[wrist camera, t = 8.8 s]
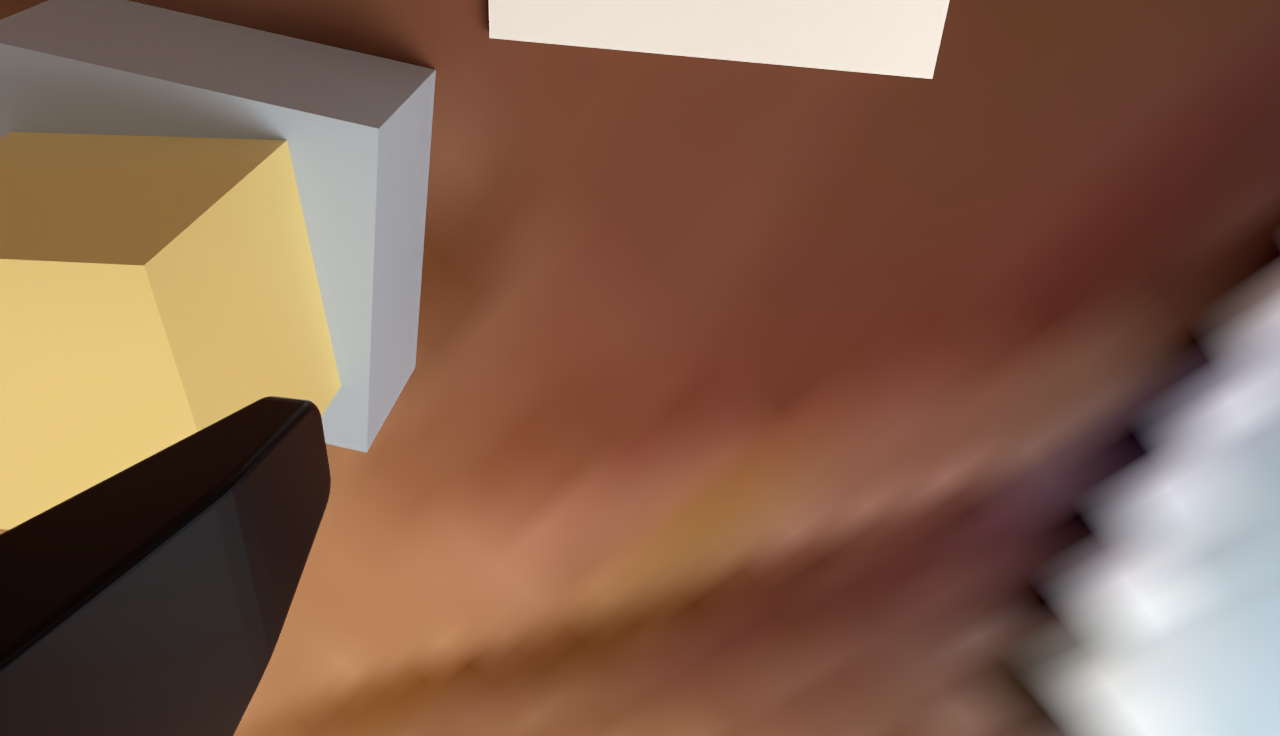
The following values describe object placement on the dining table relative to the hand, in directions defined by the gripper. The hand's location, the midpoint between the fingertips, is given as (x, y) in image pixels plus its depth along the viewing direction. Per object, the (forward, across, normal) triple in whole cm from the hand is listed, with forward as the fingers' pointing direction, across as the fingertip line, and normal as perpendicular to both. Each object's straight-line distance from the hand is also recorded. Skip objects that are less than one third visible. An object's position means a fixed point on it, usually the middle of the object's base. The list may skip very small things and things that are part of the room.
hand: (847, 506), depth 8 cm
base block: (+12, +11, +4) cm, 17 cm away
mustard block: (+9, +11, +4) cm, 15 cm away
